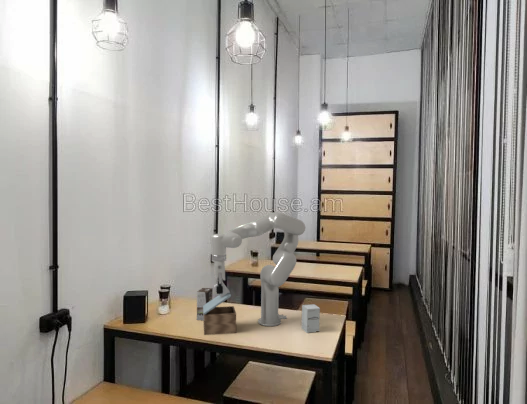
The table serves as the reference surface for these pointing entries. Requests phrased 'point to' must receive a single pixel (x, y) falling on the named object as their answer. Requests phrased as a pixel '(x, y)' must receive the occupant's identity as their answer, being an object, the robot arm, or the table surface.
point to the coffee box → (203, 301)
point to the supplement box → (310, 318)
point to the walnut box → (220, 321)
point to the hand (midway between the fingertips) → (219, 292)
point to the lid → (217, 299)
